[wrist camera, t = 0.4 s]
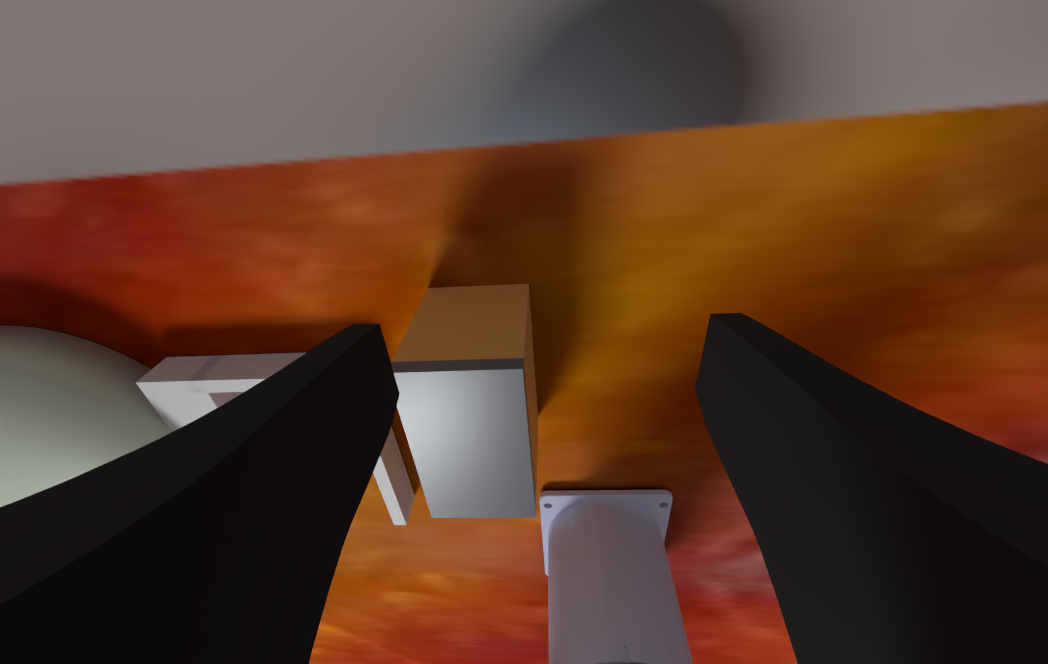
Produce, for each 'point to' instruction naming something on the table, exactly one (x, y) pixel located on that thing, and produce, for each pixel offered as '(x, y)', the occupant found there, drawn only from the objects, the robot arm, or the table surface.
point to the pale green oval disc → (122, 408)
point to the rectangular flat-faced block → (471, 401)
